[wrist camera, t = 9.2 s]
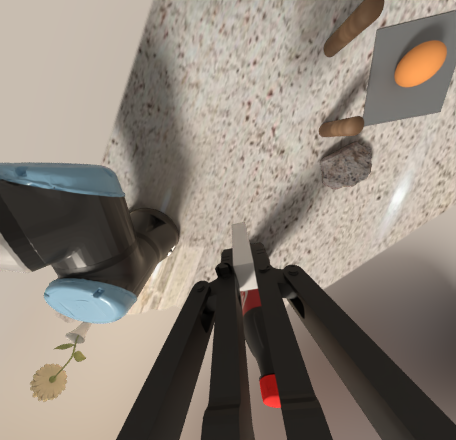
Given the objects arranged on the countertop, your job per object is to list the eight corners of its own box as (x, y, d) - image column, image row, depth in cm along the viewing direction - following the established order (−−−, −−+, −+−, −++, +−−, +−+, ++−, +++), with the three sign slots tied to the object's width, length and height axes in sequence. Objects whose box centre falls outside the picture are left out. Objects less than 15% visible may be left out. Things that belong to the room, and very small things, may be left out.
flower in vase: (86, 285, 55) (-14, 384, 33) (116, 282, 54) (34, 382, 32) (104, 310, 61) (29, 408, 39) (132, 308, 60) (72, 408, 37)
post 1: (323, 58, 28) (358, 26, 20) (324, 38, 27) (362, -5, 19) (338, 55, 28) (381, 20, 20) (340, 34, 27) (386, -12, 19)
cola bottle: (234, 261, 49) (234, 409, 22) (246, 239, 45) (264, 384, 18) (259, 270, 50) (289, 420, 23) (272, 249, 46) (327, 399, 20)
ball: (440, 79, 27) (393, 92, 31) (453, 34, 25) (401, 54, 29) (438, 79, 24) (388, 92, 28) (453, 27, 22) (396, 50, 26)
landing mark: (361, 126, 33) (362, 126, 32) (376, 30, 27) (377, 29, 26) (439, 112, 31) (440, 112, 31) (473, 6, 25) (475, 5, 25)
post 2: (318, 138, 34) (345, 137, 26) (319, 123, 33) (347, 118, 25) (331, 135, 33) (362, 133, 25) (332, 121, 32) (365, 114, 24)
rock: (311, 162, 36) (320, 165, 32) (363, 134, 33) (379, 133, 30) (323, 195, 39) (333, 201, 36) (371, 171, 37) (387, 175, 33)
